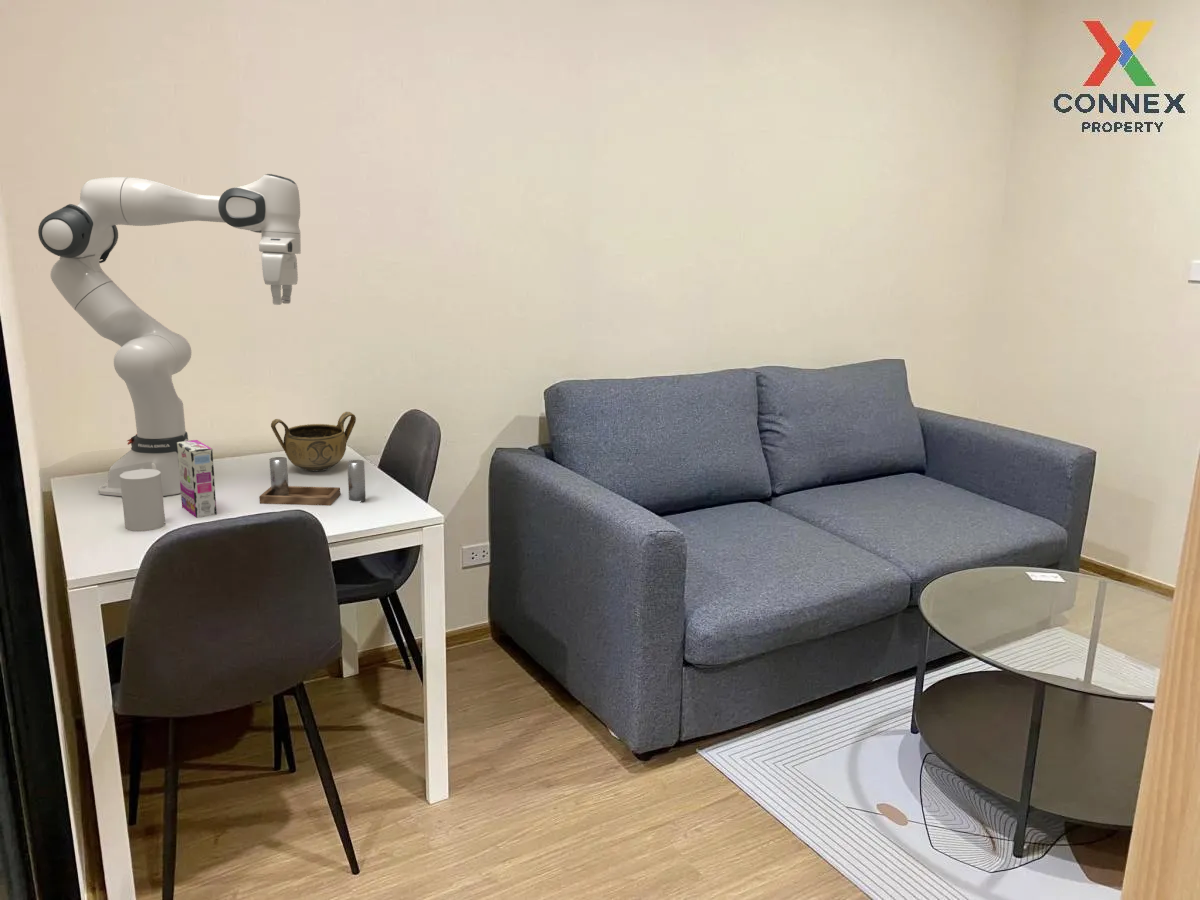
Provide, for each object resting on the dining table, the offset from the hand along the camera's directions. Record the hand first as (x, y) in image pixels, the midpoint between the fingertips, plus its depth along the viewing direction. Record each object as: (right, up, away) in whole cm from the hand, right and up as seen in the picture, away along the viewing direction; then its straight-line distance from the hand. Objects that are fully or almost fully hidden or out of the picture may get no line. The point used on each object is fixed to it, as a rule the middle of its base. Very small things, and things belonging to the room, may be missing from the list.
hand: (281, 304), depth 225 cm
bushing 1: (-2, -47, +5) cm, 47 cm away
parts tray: (+3, -48, +5) cm, 48 cm away
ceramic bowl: (-2, -41, +33) cm, 53 cm away
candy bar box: (-17, -50, -5) cm, 53 cm away
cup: (-25, -52, -15) cm, 60 cm away
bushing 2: (+17, -48, +6) cm, 51 cm away
